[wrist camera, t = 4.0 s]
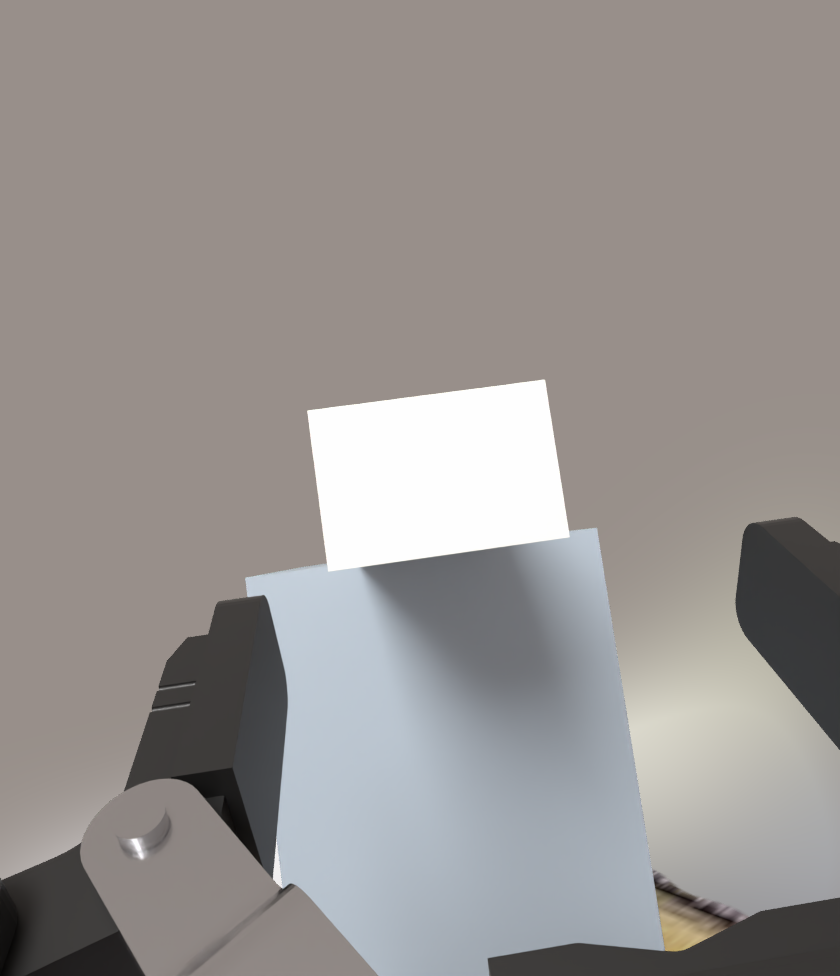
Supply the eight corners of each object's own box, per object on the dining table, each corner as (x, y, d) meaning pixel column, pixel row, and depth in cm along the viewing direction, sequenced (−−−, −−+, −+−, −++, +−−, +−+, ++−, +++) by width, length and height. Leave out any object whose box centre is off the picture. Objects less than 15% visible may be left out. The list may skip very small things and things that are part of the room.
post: (778, 1577, 21) (607, 526, 24) (364, 1670, 21) (234, 579, 23) (610, 1130, 38) (519, 536, 41) (376, 1174, 37) (299, 567, 40)
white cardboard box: (569, 537, 13) (519, 217, 14) (328, 571, 13) (285, 245, 13) (451, 545, 39) (435, 435, 40) (370, 557, 39) (355, 446, 39)
